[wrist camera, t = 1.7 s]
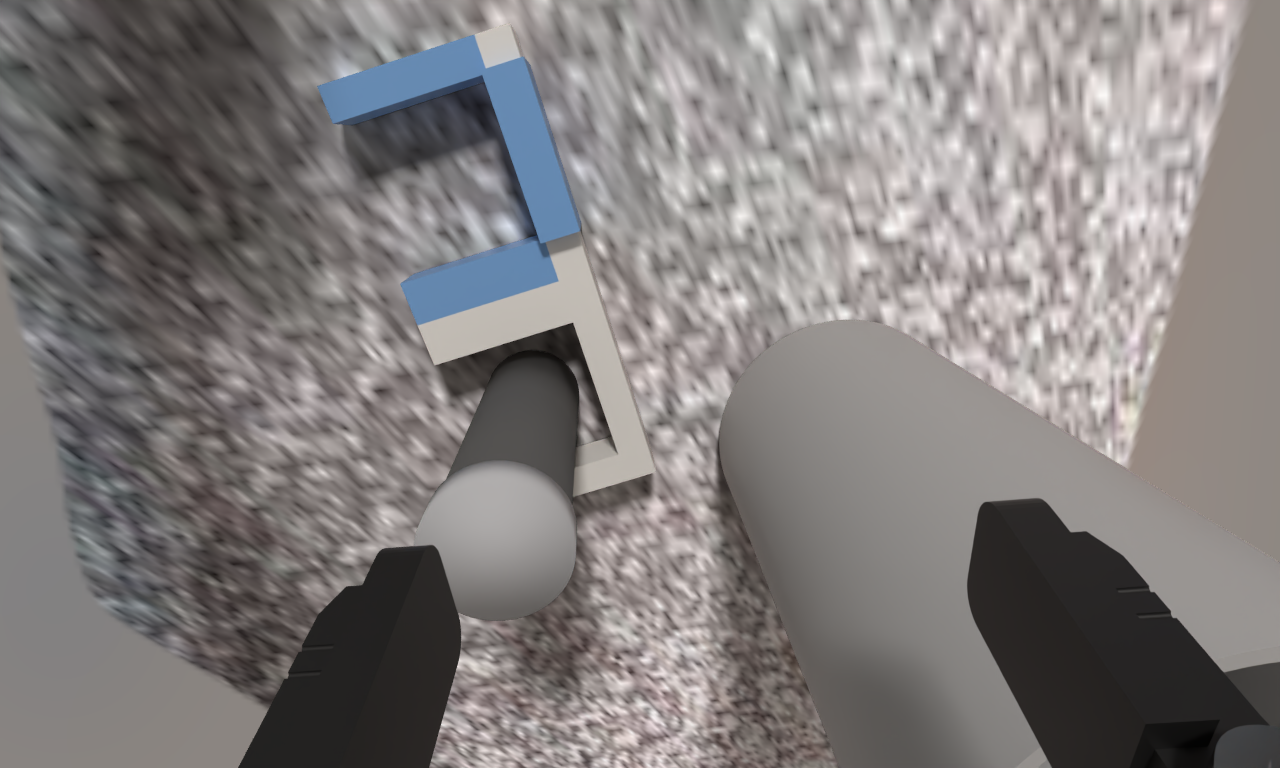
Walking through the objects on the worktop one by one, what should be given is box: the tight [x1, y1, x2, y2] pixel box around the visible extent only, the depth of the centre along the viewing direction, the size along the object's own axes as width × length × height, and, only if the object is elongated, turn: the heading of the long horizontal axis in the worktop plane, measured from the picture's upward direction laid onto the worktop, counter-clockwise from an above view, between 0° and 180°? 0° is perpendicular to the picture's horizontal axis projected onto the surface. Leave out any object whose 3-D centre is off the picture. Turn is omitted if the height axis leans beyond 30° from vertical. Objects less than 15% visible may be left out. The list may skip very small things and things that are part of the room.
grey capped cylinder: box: [414, 350, 579, 621], centre depth 29 cm, size 5×5×15 cm
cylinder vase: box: [719, 320, 1280, 768], centre depth 26 cm, size 12×12×25 cm
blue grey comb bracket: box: [317, 23, 656, 497], centre depth 33 cm, size 8×21×3 cm, turn 17°
